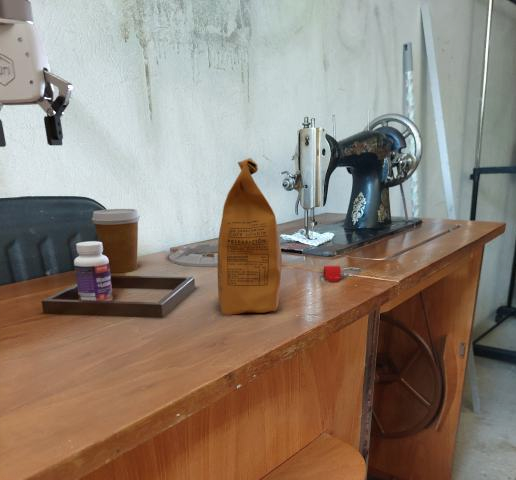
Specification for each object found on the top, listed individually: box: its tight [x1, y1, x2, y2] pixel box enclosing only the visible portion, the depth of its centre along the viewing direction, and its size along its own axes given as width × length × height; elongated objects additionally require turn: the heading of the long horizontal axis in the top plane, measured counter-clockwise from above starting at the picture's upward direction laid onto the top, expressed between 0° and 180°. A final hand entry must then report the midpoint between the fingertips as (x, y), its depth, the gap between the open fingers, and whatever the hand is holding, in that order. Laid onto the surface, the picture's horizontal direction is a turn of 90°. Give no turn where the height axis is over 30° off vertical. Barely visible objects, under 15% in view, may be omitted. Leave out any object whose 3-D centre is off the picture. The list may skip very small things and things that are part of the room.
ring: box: [169, 243, 218, 267], centre depth 119 cm, size 19×19×2 cm
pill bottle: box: [73, 240, 114, 301], centre depth 84 cm, size 5×5×10 cm
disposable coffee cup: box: [91, 208, 141, 274], centre depth 107 cm, size 10×10×12 cm
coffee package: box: [217, 157, 283, 316], centre depth 78 cm, size 10×12×22 cm
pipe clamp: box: [323, 265, 342, 283], centre depth 99 cm, size 8×3×2 cm, turn 179°
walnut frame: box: [41, 274, 196, 319], centre depth 85 cm, size 19×17×2 cm
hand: (26, 146), depth 80 cm, fingers open, 9 cm apart
